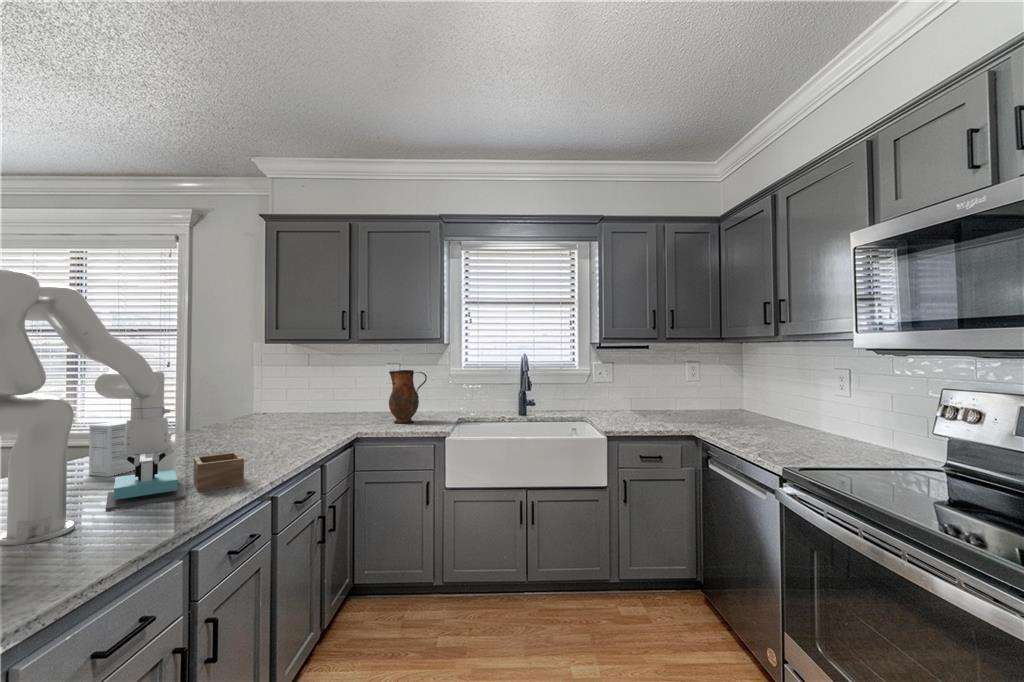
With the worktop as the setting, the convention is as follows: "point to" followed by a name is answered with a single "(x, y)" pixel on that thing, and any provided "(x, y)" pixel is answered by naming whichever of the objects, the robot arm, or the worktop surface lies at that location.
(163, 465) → the pill bottle
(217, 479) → the crate
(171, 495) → the mat
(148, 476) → the lid
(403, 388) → the pitcher
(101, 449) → the supplement box
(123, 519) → the worktop surface
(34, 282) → the robot arm
